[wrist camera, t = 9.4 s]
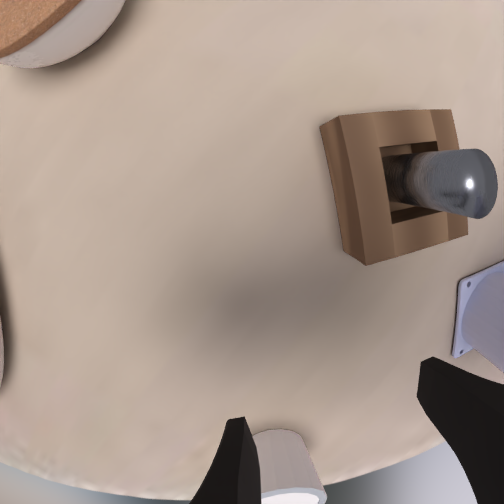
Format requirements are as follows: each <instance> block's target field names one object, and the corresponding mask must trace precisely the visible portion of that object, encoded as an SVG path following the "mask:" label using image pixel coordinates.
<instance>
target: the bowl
mask: <svg viewBox="0 0 504 504" xmlns="http://www.w3.org/2000/svg"><path fill="white" fill-rule="evenodd" d="M3 368H4V345H3V333H2V325H1V317H0V387H1V383H2V377H3Z"/></svg>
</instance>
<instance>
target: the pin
mask: <svg viewBox="0 0 504 504" xmlns="http://www.w3.org/2000/svg"><path fill="white" fill-rule="evenodd" d="M381 159H382V164H383V169H384V175H385V181H386V187H387V193H388V200H389V201H391V202H397V203H402V204H408V205H413V206H418V207H424V208H429V209H434V210H439V211H444V212H448V213H453V214H458V215H462V216H467V217H471V218H476V219H480V218H483V217H485V216H486V215H488V214H489V212H490V211H491V210H492V208H493V206H494V204H495V201H496V197H497V190H498V182H497V175H496V171H495V168H494V165H493V163H492V161H491V159H490V158H489V157H488V155H487V154H486V153H484V152H483V151H482V150H479V149H461V150H445V151H432V152H420V153H410V154H400V155H390V156H385V157H383V158H381Z"/></svg>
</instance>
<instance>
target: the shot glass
mask: <svg viewBox="0 0 504 504" xmlns="http://www.w3.org/2000/svg"><path fill="white" fill-rule="evenodd" d="M252 437H253V440H254V442H255V445H256V447H257V453H258V459H259V465H260V477H261V504H325V502H326V499H327V495H326V493H325V491H324V488H323V486H322V483H321V481H320V479H319V476H318V474H317V472H316V469H315V467H314V465H313V462H312V460H311V458H310V455H309V453H308V451H307V448H306V446H305V443H304V441H303V439H302V437H301V436H300V435H299V434H297V433H295V432H294V431H291V430H285V429H274V430H266V431H263V432H260V433H257V434H255V435H254V436H252Z"/></svg>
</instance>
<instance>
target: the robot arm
mask: <svg viewBox="0 0 504 504" xmlns="http://www.w3.org/2000/svg"><path fill="white" fill-rule="evenodd" d="M467 283H468V284H467ZM472 349H476V350H477V351H478V352H479V353H481V354H482V355H483V356H484V357H485V358H487V359H488V360H489V361H490V362H491V363H493V364H494V365H495V366H496V367H497V368H499V369H500V370H501V371H502V372H503V373H504V261H502V262H500V263H498V264H496V265H494V266H492V267H489V268H487V269H485V270H483V271H481V272H478V273H476V274H474V275H472V276H469V277H467V278H465V279H462V280H461V281H460V283H459V287H458V305H457V317H456V328H455V336H454V344H453V351H452V356H453V357H454V358H458V357H459V356H461V355H463V354H465V353H467V352H469V351H470V350H472ZM417 398H418V400H419V402H420V404H421V406H422V408H423V409H424V411H425V413H426V415H427V416H428V417H429V419H430V420H431V421H432V423H433V424H434V425H435V427H436V428H437V429H438V431H439V432H440V433H441V435H442V436H443V437H444V439H445V440H446V441H447V443H448V444H449V445H450V447H451V448H452V450H453V451H454V452H455V454H456V456H457V457H458V459H459V461H460V463H461V465H462V467H463V469H464V471H465V473H466V475H467V478H468V480H469V482H470V484H471V486H472V489H473V492H474V494H475V497H476V500H477V503H478V504H504V384H500V383H496V382H493V381H490V380H487V379H485V378H482V377H479V376H477V375H474V374H472V373H469V372H467V371H465V370H462V369H460V368H458V367H456V366H453V365H451V364H449V363H447V362H444V361H442V360H440V359H438V358H435V357H431V358H428V359H426V360H424V361H422V362H421V366H420V375H419V383H418V391H417ZM189 504H261V477H260V465H259V459H258V453H257V447H256V445H255V442H254V440H253V437H252V435H251V432H250V429H249V427H248V424H247V422H246V419H245V417H240V418H234V419H229V420H228V421H227V422H226V426H225V430H224V433H223V436H222V439H221V442H220V445H219V448H218V450H217V453H216V455H215V457H214V460H213V462H212V464H211V467H210V469H209V471H208V473H207V475H206V477H205V479H204V481H203V482H202V484H201V486H200V488H199V489H198V491H197V493H196V494H195V496H194V497H193V499H192V500H191V502H190V503H189Z"/></svg>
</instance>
